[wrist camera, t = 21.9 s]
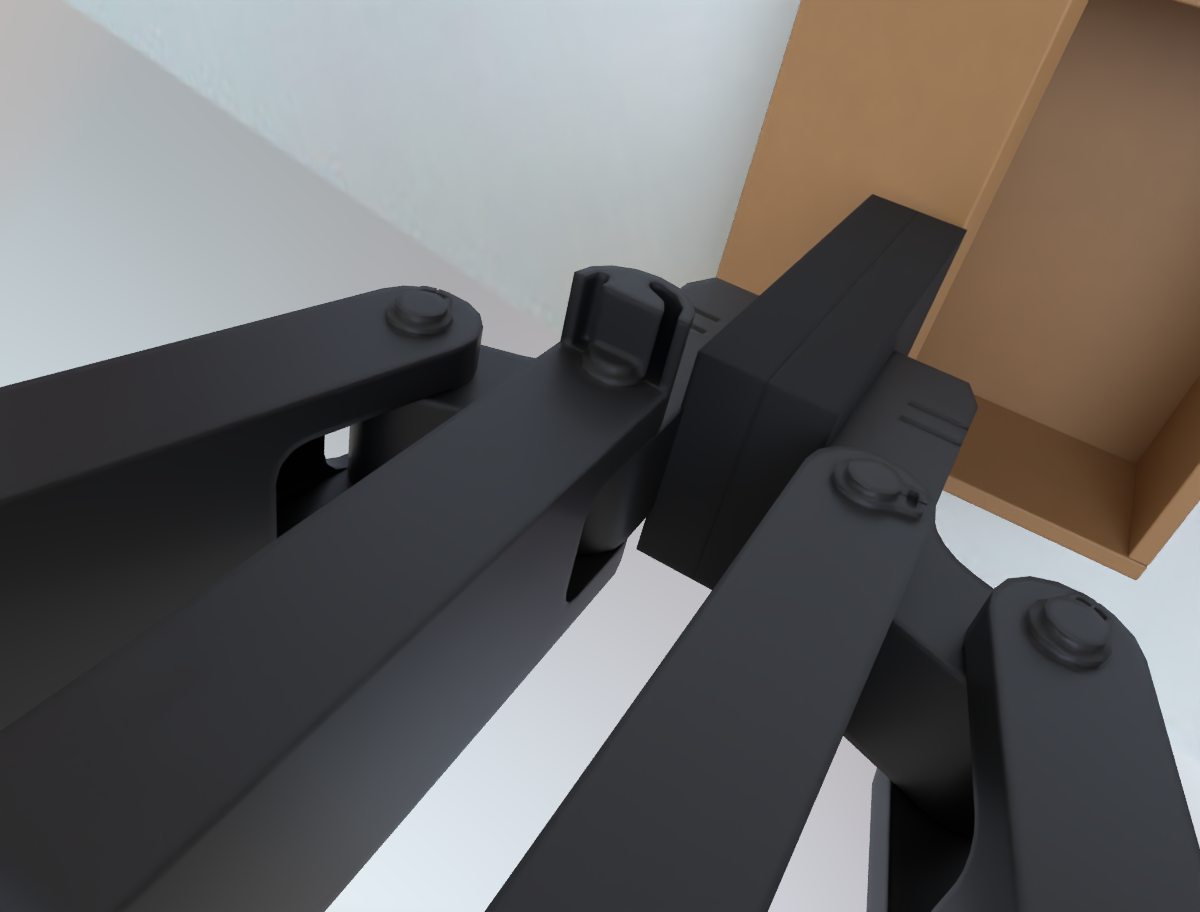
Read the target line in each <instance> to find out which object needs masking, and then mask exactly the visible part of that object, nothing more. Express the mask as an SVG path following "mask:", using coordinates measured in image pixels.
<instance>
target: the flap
mask: <svg viewBox="0 0 1200 912" xmlns="http://www.w3.org/2000/svg"><path fill="white" fill-rule="evenodd" d="M1088 1H1089V0H801V2H800V6H799V9H798V12H797V15H796V19H795V22H794V25H793V28H792V32H791V35H790V38H789V41H788V45H787V48H786V51H785V54H784V58H783V61H782V64H781V67H780V71H779V74H778V77H777V81H776V84H775V87H774V90H773V94H772V97H771V100H770V103H769V107H768V110H767V113H766V116H765V120H764V123H763V126H762V129H761V133H760V136H759V139H758V142H757V146H756V149H755V152H754V155H753V159H752V162H751V165H750V168H749V172H748V175H747V178H746V181H745V185H744V188H743V191H742V194H741V198H740V201H739V204H738V207H737V211H736V214H735V217H734V220H733V224H732V227H731V230H730V233H729V237H728V240H727V243H726V246H725V250H724V253H723V256H722V259H721V263H720V266H719V269H718V272H717V276H716V277H717V278H719V279H722V280H724V281H726V282H729V283H731V284H733V285H736V286H738V287H740V288H742V289H745V290H747V291H749V292H752V293H754V294H756V295H759V296H760V295H761V294H762V293H763V292H764V291H765V290H766V289H767V288H768V287H770V286H771V285H772V284H773V283H774V282H775V281H776V280H777V279H778V278H780V277H781V276H782V275H783V274H784V273H785V272H786V271H787V270H788V269H790V268H791V267H792V266H793V265H794V264H795V263H796V262H797V261H798V260H800V259H801V258H802V257H803V256H804V255H805V254H806V253H807V252H808V251H810V250H811V249H812V248H813V247H814V246H815V245H816V244H817V243H818V242H819V241H821V240H822V239H823V238H824V237H825V236H826V235H827V234H828V233H829V232H831V231H832V230H833V229H834V228H835V227H836V226H837V225H838V224H839V223H841V222H842V221H843V220H844V219H845V218H846V217H847V216H848V215H849V214H851V213H852V212H853V211H854V210H855V209H856V208H857V207H858V206H859V205H861V204H862V203H863V202H864V201H865V200H866V199H867V198H868V197H869V196H871V195H872V194H874V195H877V196H879V197H882V198H885V199H887V200H890V201H893V202H895V203H898V204H900V205H903V206H906V207H908V208H911V209H914V210H916V211H919V212H921V213H924V214H927V215H929V216H932V217H935V218H937V219H940V220H942V221H945V222H948V223H950V224H953V225H956V226H958V227H961V228H963V229H966V230H967V232H966V234H965V236H964V238H963V240H962V242H961V245H960V247H959V249H958V251H957V253H956V255H955V257H954V259H953V262H952V264H951V266H950V268H949V270H948V272H947V274H946V276H945V278H944V281H943V283H942V285H941V287H940V289H939V291H938V293H937V295H936V297H935V300H934V302H933V304H932V306H931V308H930V310H929V312H928V314H927V316H926V319H925V321H924V323H923V325H922V327H921V329H920V331H919V333H918V335H917V338H916V340H915V342H914V344H913V346H912V348H911V350H910V352H909V354H908V357H910V358H913V359H915V360H916V358H917V356H918V354H919V352H920V350H921V348H922V346H923V344H924V341H925V339H926V337H927V335H928V333H929V331H930V329H931V327H932V325H933V323H934V321H935V319H936V317H937V314H938V312H939V310H940V308H941V306H942V304H943V302H944V300H945V298H946V296H947V294H948V292H949V289H950V287H951V285H952V283H953V281H954V279H955V277H956V275H957V273H958V271H959V269H960V267H961V265H962V262H963V260H964V258H965V256H966V254H967V252H968V250H969V248H970V246H971V244H972V242H973V240H974V238H975V235H976V233H977V231H978V229H979V227H980V225H981V223H982V221H983V219H984V217H985V215H986V213H987V210H988V208H989V206H990V204H991V202H992V200H993V198H994V196H995V194H996V192H997V190H998V188H999V186H1000V183H1001V181H1002V179H1003V177H1004V175H1005V173H1006V171H1007V169H1008V167H1009V165H1010V163H1011V161H1012V159H1013V156H1014V154H1015V152H1016V150H1017V148H1018V146H1019V144H1020V142H1021V140H1022V138H1023V136H1024V134H1025V132H1026V129H1027V127H1028V125H1029V123H1030V121H1031V119H1032V117H1033V115H1034V113H1035V111H1036V109H1037V107H1038V104H1039V102H1040V100H1041V98H1042V96H1043V94H1044V92H1045V90H1046V88H1047V86H1048V84H1049V82H1050V80H1051V77H1052V75H1053V73H1054V71H1055V69H1056V67H1057V65H1058V63H1059V61H1060V59H1061V57H1062V55H1063V53H1064V50H1065V48H1066V46H1067V44H1068V42H1069V40H1070V38H1071V36H1072V34H1073V32H1074V30H1075V28H1076V25H1077V23H1078V21H1079V19H1080V17H1081V15H1082V13H1083V11H1084V9H1085V7H1086V5H1087V3H1088Z"/></svg>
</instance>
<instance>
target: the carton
mask: <svg viewBox="0 0 1200 912" xmlns="http://www.w3.org/2000/svg"><path fill="white" fill-rule="evenodd" d="M916 360H917V361H920V362H922V363H924V364H927V365H929V366H931V367H934V368H936V369H938V370H940V371H943V372H945V373H947V374H950V375H952V376H954V377H957V378H959V379H961V380H964V381H966V382H968V383H970V386H971V389H972V391H973V394H974V397H975V400H976V402H977V405H978V409H977V411H976V413H975V416H974V418H973V420H972V423H971V425H970V427H969V429H968V432H967V434H966V437H965V439H964V441H963V444H962V445H961V448H960V451H959V453H958V455H957V458H956V460H955V462H954V465H953V467H952V469H951V472H950V474H949V476H948V479H947V481H946V483H945V486H944V488H943V490H944V491H946V492H948V493H950V494H952V495H954V496H957V497H959V498H961V499H963V500H965V501H967V502H969V503H972V504H974V505H976V506H978V507H980V508H982V509H984V510H987V511H989V512H991V513H993V514H995V515H997V516H999V517H1002V518H1004V519H1006V520H1008V521H1010V522H1012V523H1014V524H1016V525H1019V526H1021V527H1023V528H1025V529H1027V530H1029V531H1031V532H1034V533H1036V534H1038V535H1040V536H1042V537H1044V538H1046V539H1049V540H1051V541H1053V542H1055V543H1057V544H1059V545H1061V546H1064V547H1066V548H1068V549H1070V550H1072V551H1074V552H1076V553H1079V554H1081V555H1083V556H1085V557H1087V558H1089V559H1091V560H1094V561H1096V562H1098V563H1100V564H1102V565H1104V566H1106V567H1109V568H1111V569H1113V570H1115V571H1117V572H1119V573H1121V574H1123V575H1126V576H1128V577H1130V578H1132V579H1134V580H1137V579H1138V578H1139V577H1140V576H1141V574H1142V573H1143V572H1144V571H1145V569H1146V568H1147V566H1148V565H1149V564H1150V563H1151V562H1152V560H1153V559H1154V558H1155V557H1156V555H1157V554H1158V553H1159V551H1160V550H1161V549H1162V548H1163V546H1164V545H1165V544H1166V543H1167V541H1168V540H1169V539H1170V537H1171V536H1172V535H1173V534H1174V532H1175V531H1176V530H1177V529H1178V527H1179V526H1180V525H1181V523H1182V522H1183V521H1184V520H1185V518H1186V517H1187V516H1188V515H1189V513H1190V512H1191V511H1192V509H1193V508H1194V507H1195V506H1196V504H1197V503H1198V502H1199V501H1200V0H1089V1H1088V3H1087V5H1086V7H1085V9H1084V11H1083V13H1082V15H1081V17H1080V19H1079V21H1078V23H1077V25H1076V28H1075V30H1074V32H1073V34H1072V36H1071V38H1070V40H1069V42H1068V44H1067V46H1066V48H1065V50H1064V53H1063V55H1062V57H1061V59H1060V61H1059V63H1058V65H1057V67H1056V69H1055V71H1054V73H1053V75H1052V77H1051V80H1050V82H1049V84H1048V86H1047V88H1046V90H1045V92H1044V94H1043V96H1042V98H1041V100H1040V102H1039V104H1038V107H1037V109H1036V111H1035V113H1034V115H1033V117H1032V119H1031V121H1030V123H1029V125H1028V127H1027V129H1026V132H1025V134H1024V136H1023V138H1022V140H1021V142H1020V144H1019V146H1018V148H1017V150H1016V152H1015V154H1014V156H1013V159H1012V161H1011V163H1010V165H1009V167H1008V169H1007V171H1006V173H1005V175H1004V177H1003V179H1002V181H1001V183H1000V186H999V188H998V190H997V192H996V194H995V196H994V198H993V200H992V202H991V204H990V206H989V208H988V210H987V213H986V215H985V217H984V219H983V221H982V223H981V225H980V227H979V229H978V231H977V233H976V235H975V238H974V240H973V242H972V244H971V246H970V248H969V250H968V252H967V254H966V256H965V258H964V260H963V262H962V265H961V267H960V269H959V271H958V273H957V275H956V277H955V279H954V281H953V283H952V285H951V287H950V289H949V292H948V294H947V296H946V298H945V300H944V302H943V304H942V306H941V308H940V310H939V312H938V314H937V317H936V319H935V321H934V323H933V325H932V327H931V329H930V331H929V333H928V335H927V337H926V339H925V341H924V344H923V346H922V348H921V350H920V352H919V354H918V356H917V358H916Z"/></svg>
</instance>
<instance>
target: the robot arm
mask: <svg viewBox="0 0 1200 912" xmlns="http://www.w3.org/2000/svg"><path fill="white" fill-rule="evenodd" d="M966 232H967V230H966V229H963V228H961V227H958V226H956V225H953V224H950V223H948V222H945V221H942V220H940V219H937V218H935V217H932V216H929V215H927V214H924V213H921V212H919V211H916V210H914V209H911V208H908V207H906V206H903V205H900V204H898V203H895V202H893V201H890V200H887V199H885V198H882V197H879V196H877V195H874V194H872V195H871V196H869V197H868V198H867V199H866V200H865V201H864V202H863V203H862V204H861V205H859V206H858V207H857V208H856V209H855V210H854V211H853V212H852V213H851V214H849V215H848V216H847V217H846V218H845V219H844V220H843V221H842V222H841V223H839V224H838V225H837V226H836V227H835V228H834V229H833V230H832V231H831V232H829V233H828V234H827V235H826V236H825V237H824V238H823V239H822V240H821V241H819V242H818V243H817V244H816V245H815V246H814V247H813V248H812V249H811V250H810V251H808V252H807V253H806V254H805V255H804V256H803V257H802V258H801V259H800V260H798V261H797V262H796V263H795V264H794V265H793V266H792V267H791V268H790V269H788V270H787V271H786V272H785V273H784V274H783V275H782V276H781V277H780V278H778V279H777V280H776V281H775V282H774V283H773V284H772V285H771V286H770V287H768V288H767V289H766V290H765V291H764V292H763V293H762V294H761V295H760V296H759V295H756V294H754V293H752V292H749V291H747V290H745V289H742V288H740V287H738V286H736V285H733V284H731V283H729V282H726V281H724V280H722V279H719V278H717V277H716V278H711V279H706V280H701V281H696V282H692V283H687V284H686V285H685V286H683V287H682V288H681V289H679V288H678V287H676V286H675V285H673V284H671V283H669V282H667V281H666V280H664V279H662V278H660V277H658V276H655V275H652V274H649V273H646V272H643V271H640V270H637V269H631V268H625V267H618V266H592V267H588V268H585V269H582V270H579V271H576V272H574V277H573V282H572V287H571V292H570V297H569V302H568V307H567V311H566V316H565V321H564V326H563V331H562V336H561V341H560V342H559V343H557V344H556V345H555V346H553V347H552V348H550V349H549V350H547V351H546V352H544V353H543V354H542V355H540V356H539V357H537V358H531V357H526V356H521V355H517V354H514V353H510V352H506V351H502V350H498V349H495V348H490V347H487V346H483V345H480V344H481V337H482V330H483V325H482V321H481V317H480V314H479V313H478V312H477V311H476V310H475V309H474V308H473V307H472V306H471V305H470V304H469V303H468V302H466V301H464V300H462V299H460V298H458V297H456V296H454V295H452V294H450V293H448V292H446V291H443V290H440V289H439V290H437V289H436V288H432V287H428V286H421V287H415V286H398V287H391V288H383V289H379V290H375V291H371V292H367V293H363V294H359V295H355V296H352V297H348V298H344V299H340V300H336V301H333V302H329V303H325V304H321V305H317V306H313V307H309V308H305V309H302V310H298V311H294V312H290V313H286V314H282V315H278V316H274V317H271V318H267V319H263V320H259V321H255V322H251V323H247V324H244V325H240V326H236V327H232V328H228V329H224V330H220V331H216V332H213V333H209V334H205V335H201V336H197V337H193V338H189V339H185V340H182V341H178V342H174V343H170V344H166V345H162V346H159V347H155V348H151V349H147V350H143V351H139V352H135V353H132V354H128V355H124V356H120V357H116V358H112V359H108V360H105V361H100V362H97V363H93V364H89V365H85V366H81V367H77V368H73V369H70V370H66V371H62V372H58V373H55V374H51V375H46V376H43V377H39V378H35V379H31V380H27V381H23V382H19V383H15V384H12V385H8V386H4V387H1V388H0V912H325V910H326V909H327V908H328V907H329V906H330V905H331V903H332V902H333V901H334V900H335V899H336V898H337V897H338V895H339V894H340V893H341V892H342V891H343V890H344V888H345V887H346V886H347V885H348V884H349V883H350V881H351V880H352V879H353V878H354V877H355V875H356V874H357V873H358V872H359V871H360V870H361V869H362V867H363V866H364V865H365V864H366V863H367V862H368V860H369V859H370V858H371V857H372V855H374V853H375V852H376V851H377V850H378V849H379V848H380V846H381V845H382V844H383V843H384V842H385V841H386V839H387V838H388V837H389V836H390V834H392V832H393V831H394V830H395V829H396V828H397V827H398V825H399V824H400V823H401V822H402V821H403V820H404V818H405V817H406V816H407V815H408V814H409V813H410V812H411V810H412V809H413V808H414V807H415V806H416V805H417V803H418V802H419V801H420V800H421V799H422V798H423V796H424V795H425V794H426V793H427V791H428V790H429V789H430V788H431V787H432V786H433V785H434V784H435V782H436V781H437V780H438V779H439V778H440V776H441V775H442V774H443V773H444V772H445V771H446V770H447V768H448V767H449V766H450V765H451V764H452V762H453V761H454V760H455V759H456V758H457V757H458V756H459V754H460V753H461V752H462V751H463V750H464V749H465V747H466V746H467V745H468V744H469V743H470V741H471V740H472V739H473V738H474V737H475V736H476V735H477V733H478V732H479V731H480V730H481V729H482V728H483V726H484V725H485V724H486V723H487V722H488V721H489V720H490V718H491V717H492V716H493V715H494V714H495V713H496V711H497V710H498V709H499V708H500V707H501V706H502V704H503V703H504V702H505V701H506V700H507V698H508V697H509V696H510V695H511V694H512V693H513V692H514V690H515V689H516V688H517V687H518V685H519V684H520V683H521V682H522V681H523V680H524V679H525V678H526V676H527V675H528V674H529V673H530V672H531V670H532V669H533V668H534V667H535V666H536V665H537V664H538V662H539V661H540V660H541V659H542V658H543V657H544V655H545V654H546V653H547V652H548V651H549V650H550V649H551V647H552V646H553V644H555V643H556V641H557V640H558V639H559V638H560V637H561V636H562V634H563V633H564V632H565V631H566V630H567V629H568V628H569V626H570V625H571V624H572V623H573V622H574V620H575V619H576V618H577V617H578V616H579V615H580V614H581V612H582V611H583V610H584V609H585V608H586V606H587V605H588V604H589V603H590V602H591V601H592V600H593V598H594V597H595V596H596V595H597V594H598V593H599V591H600V590H601V589H602V588H603V587H604V586H605V584H606V583H607V582H608V581H609V580H610V579H611V577H612V576H613V575H614V574H615V572H616V570H617V567H618V566H619V563H620V561H621V558H622V555H623V552H624V548H625V545H626V542H627V538H628V537H629V536H630V535H631V533H632V532H633V531H634V530H635V529H636V528H637V527H638V526H639V525H640V523H641V522H642V521H643V520H644V519H645V518H646V520H645V523H644V526H643V529H642V533H641V536H640V539H639V542H638V545H637V550H639V551H641V552H643V553H645V554H647V555H648V556H651V557H652V558H654V559H656V560H658V561H659V562H662V563H663V564H665V565H667V566H669V567H671V568H673V569H674V570H676V571H678V572H680V573H682V574H683V575H685V576H687V577H689V578H691V579H693V580H695V581H696V582H698V583H700V584H702V585H704V586H706V587H707V588H709V589H711V590H712V591H711V593H710V594H709V596H708V597H707V599H706V600H705V602H704V603H703V604H702V606H701V607H700V608H699V610H698V611H697V613H696V614H695V616H694V617H693V618H692V620H691V621H690V623H689V624H688V625H687V627H686V628H685V630H684V631H683V632H682V634H681V635H680V637H679V638H678V640H677V641H676V642H675V644H674V645H673V647H672V648H671V649H670V651H669V652H668V654H667V655H666V656H665V658H664V659H663V661H662V662H661V664H660V665H659V666H658V668H657V669H656V671H655V672H654V673H653V675H652V676H651V678H650V679H649V680H648V682H647V683H646V685H645V686H644V688H643V689H642V690H641V692H640V693H639V695H638V696H637V697H636V699H635V700H634V702H633V703H632V704H631V706H630V707H629V709H628V710H627V711H626V713H625V715H624V716H623V717H622V718H621V720H620V721H619V723H618V724H617V726H616V727H615V728H614V730H613V731H612V733H611V734H610V736H609V737H608V738H607V740H606V741H605V742H604V744H603V745H602V747H601V748H600V750H599V751H598V752H597V754H596V755H595V757H594V758H593V760H592V761H591V762H590V764H589V765H588V766H587V768H586V769H585V771H584V772H583V774H582V775H581V776H580V778H579V780H578V781H577V782H576V783H575V785H574V786H573V788H572V789H571V791H570V792H569V793H568V795H567V796H566V798H565V799H564V800H563V802H562V803H561V805H560V806H559V807H558V809H557V810H556V812H555V813H554V815H553V816H552V817H551V819H550V820H549V822H548V823H547V824H546V826H545V827H544V829H543V830H542V832H541V833H540V834H539V836H538V837H537V838H536V840H535V841H534V843H533V844H532V846H531V847H530V848H529V850H528V851H527V853H526V854H525V856H524V857H523V858H522V860H521V861H520V863H519V864H518V865H517V867H516V868H515V869H514V871H513V872H512V874H511V875H510V877H509V878H508V879H507V881H506V882H505V884H504V885H503V887H502V888H501V889H500V891H499V892H498V893H497V895H496V896H495V898H494V899H493V901H492V902H491V903H490V905H489V906H488V908H487V909H486V910H485V912H768V910H769V907H770V905H771V903H772V900H773V898H774V896H775V893H776V891H777V889H778V886H779V884H780V882H781V879H782V877H783V875H784V872H785V870H786V867H787V865H788V863H789V861H790V858H791V856H792V854H793V851H794V849H795V847H796V844H797V842H798V840H799V837H800V835H801V833H802V830H803V828H804V826H805V823H806V821H807V819H808V816H809V814H810V811H811V809H812V807H813V804H814V802H815V800H816V798H817V795H818V793H819V791H820V788H821V786H822V784H823V781H824V779H825V776H826V774H827V772H828V769H829V767H830V765H831V762H832V760H833V758H834V755H835V753H836V751H837V748H838V746H839V744H840V741H841V739H842V737H843V736H844V737H845V738H846V739H847V740H848V741H850V742H851V743H852V744H853V745H854V746H855V747H856V748H857V749H858V750H859V751H860V752H861V753H862V754H863V755H864V756H866V757H867V758H868V759H869V760H870V761H871V762H872V763H873V764H874V765H875V766H876V767H877V770H876V773H875V776H874V780H873V783H872V800H871V823H870V846H869V847H870V848H869V870H868V893H867V912H1200V848H1199V844H1198V841H1197V837H1196V834H1195V830H1194V826H1193V823H1192V820H1191V816H1190V812H1189V809H1188V805H1187V802H1186V798H1185V795H1184V791H1183V787H1182V784H1181V780H1180V777H1179V773H1178V770H1177V766H1176V763H1175V759H1174V755H1173V752H1172V748H1171V745H1170V741H1169V738H1168V734H1167V731H1166V727H1165V724H1164V720H1163V716H1162V713H1161V709H1160V706H1159V702H1158V699H1157V695H1156V692H1155V688H1154V684H1153V681H1152V677H1151V674H1150V670H1149V667H1148V663H1147V660H1146V658H1145V656H1144V654H1143V652H1142V650H1141V648H1140V646H1139V644H1138V642H1137V640H1136V638H1135V637H1134V636H1133V635H1132V634H1131V633H1130V631H1129V630H1128V629H1127V628H1126V627H1125V626H1124V625H1123V624H1122V623H1121V622H1120V621H1119V620H1118V619H1117V617H1116V616H1115V615H1114V614H1112V613H1111V612H1110V611H1109V610H1107V609H1106V608H1105V607H1103V606H1102V605H1101V604H1100V603H1099V604H1098V603H1097V602H1095V600H1094V599H1092V598H1090V597H1088V596H1087V595H1085V594H1083V593H1081V592H1078V591H1076V590H1074V589H1072V588H1070V587H1067V586H1065V585H1063V584H1061V583H1059V582H1055V581H1050V580H1045V579H1041V578H1036V577H1031V576H1029V577H1019V578H1009V579H1007V580H1005V581H1004V582H1003V583H1001V584H1000V585H999V586H997V587H996V588H994V589H993V588H992V587H990V586H989V585H988V584H986V583H985V582H984V581H982V580H981V579H980V578H978V577H977V576H976V575H974V574H973V573H972V572H971V571H970V570H969V569H967V568H966V567H965V566H964V565H963V564H962V563H960V562H959V561H958V560H957V559H956V558H955V556H954V555H953V554H952V553H951V552H950V550H949V549H948V548H947V547H946V546H945V544H944V543H943V541H942V539H941V537H940V535H939V533H938V532H937V529H936V525H935V511H936V504H937V502H938V500H939V497H940V495H941V493H942V490H943V488H944V486H945V483H946V481H947V479H948V476H949V474H950V472H951V469H952V467H953V465H954V462H955V460H956V458H957V455H958V453H959V451H960V448H961V445H962V444H963V441H964V439H965V437H966V434H967V432H968V429H969V427H970V425H971V423H972V420H973V418H974V416H975V413H976V411H977V409H978V405H977V402H976V400H975V397H974V394H973V391H972V389H971V386H970V383H968V382H966V381H964V380H961V379H959V378H957V377H954V376H952V375H950V374H947V373H945V372H943V371H940V370H938V369H936V368H934V367H931V366H929V365H927V364H924V363H922V362H920V361H917V360H915V359H913V358H910V357H908V354H909V352H910V350H911V348H912V346H913V344H914V342H915V340H916V338H917V335H918V333H919V331H920V329H921V327H922V325H923V323H924V321H925V319H926V316H927V314H928V312H929V310H930V308H931V306H932V304H933V302H934V300H935V297H936V295H937V293H938V291H939V289H940V287H941V285H942V283H943V281H944V278H945V276H946V274H947V272H948V270H949V268H950V266H951V264H952V262H953V259H954V257H955V255H956V253H957V251H958V249H959V247H960V245H961V242H962V240H963V238H964V236H965V234H966ZM348 426H350V438H349V453H348V454H345V455H343V456H341V457H337V458H330V459H325V455H324V439H325V435H326V434H329V433H331V432H334V431H337V430H340V429H342V428H345V427H348Z"/></svg>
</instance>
